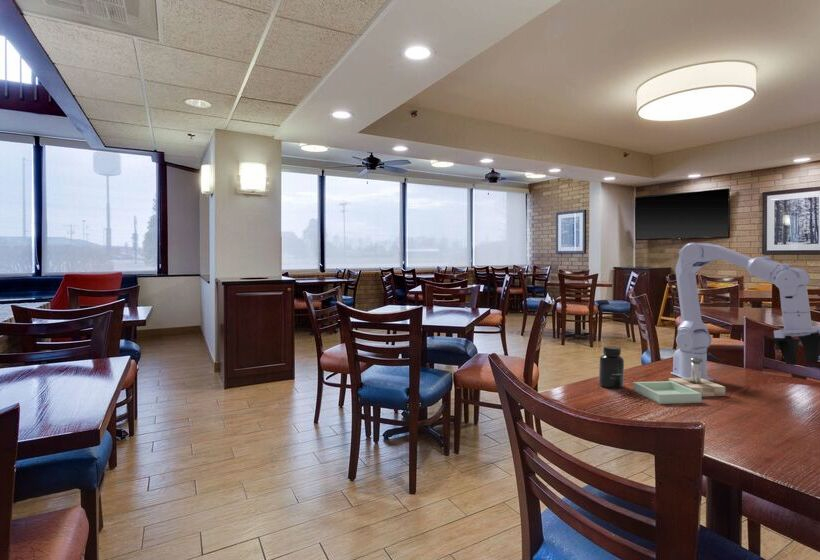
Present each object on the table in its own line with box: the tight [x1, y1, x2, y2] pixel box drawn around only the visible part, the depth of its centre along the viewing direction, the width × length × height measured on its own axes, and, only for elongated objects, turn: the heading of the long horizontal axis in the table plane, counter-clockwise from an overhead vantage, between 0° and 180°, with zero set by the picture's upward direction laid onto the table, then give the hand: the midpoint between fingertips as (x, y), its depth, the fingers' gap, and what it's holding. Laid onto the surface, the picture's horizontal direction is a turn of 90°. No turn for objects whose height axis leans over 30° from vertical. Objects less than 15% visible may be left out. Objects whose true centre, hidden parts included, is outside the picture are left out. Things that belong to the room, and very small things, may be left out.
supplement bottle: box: [598, 345, 625, 389], centre depth 133 cm, size 7×7×12 cm
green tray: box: [632, 380, 703, 405], centre depth 122 cm, size 12×12×2 cm
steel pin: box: [690, 357, 703, 384], centre depth 127 cm, size 3×3×10 cm
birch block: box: [667, 377, 726, 397], centre depth 127 cm, size 10×10×2 cm
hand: (802, 363), depth 116 cm, fingers open, 7 cm apart
